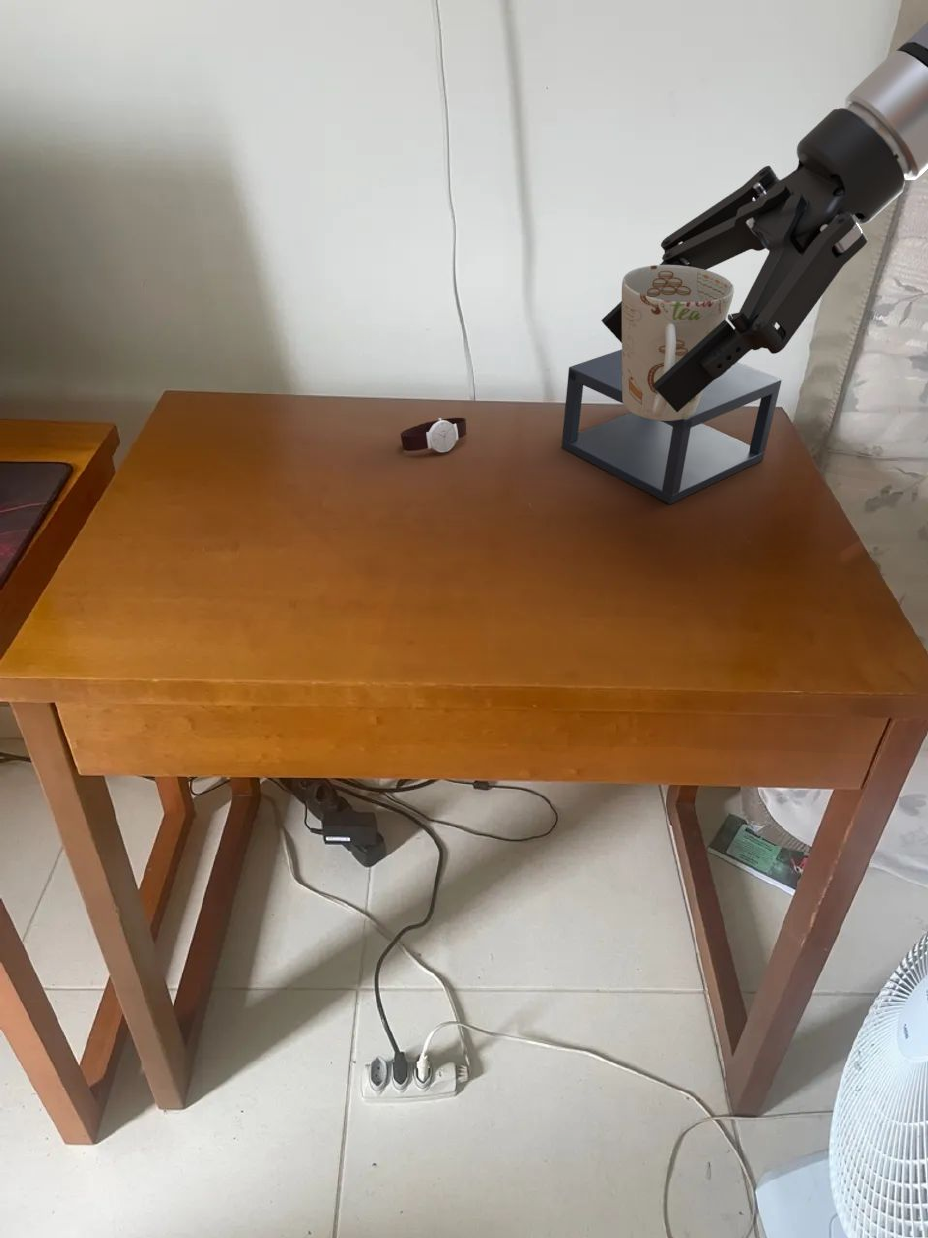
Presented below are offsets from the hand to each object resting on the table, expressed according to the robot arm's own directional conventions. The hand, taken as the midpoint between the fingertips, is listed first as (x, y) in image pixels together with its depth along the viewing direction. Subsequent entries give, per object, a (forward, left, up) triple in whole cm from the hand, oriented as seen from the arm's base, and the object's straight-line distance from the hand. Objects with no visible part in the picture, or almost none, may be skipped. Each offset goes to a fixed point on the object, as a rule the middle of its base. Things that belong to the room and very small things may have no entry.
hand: (636, 363), depth 76 cm
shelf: (+11, -20, -19) cm, 29 cm away
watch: (+27, -2, -19) cm, 33 cm away
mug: (-1, -2, -5) cm, 5 cm away
